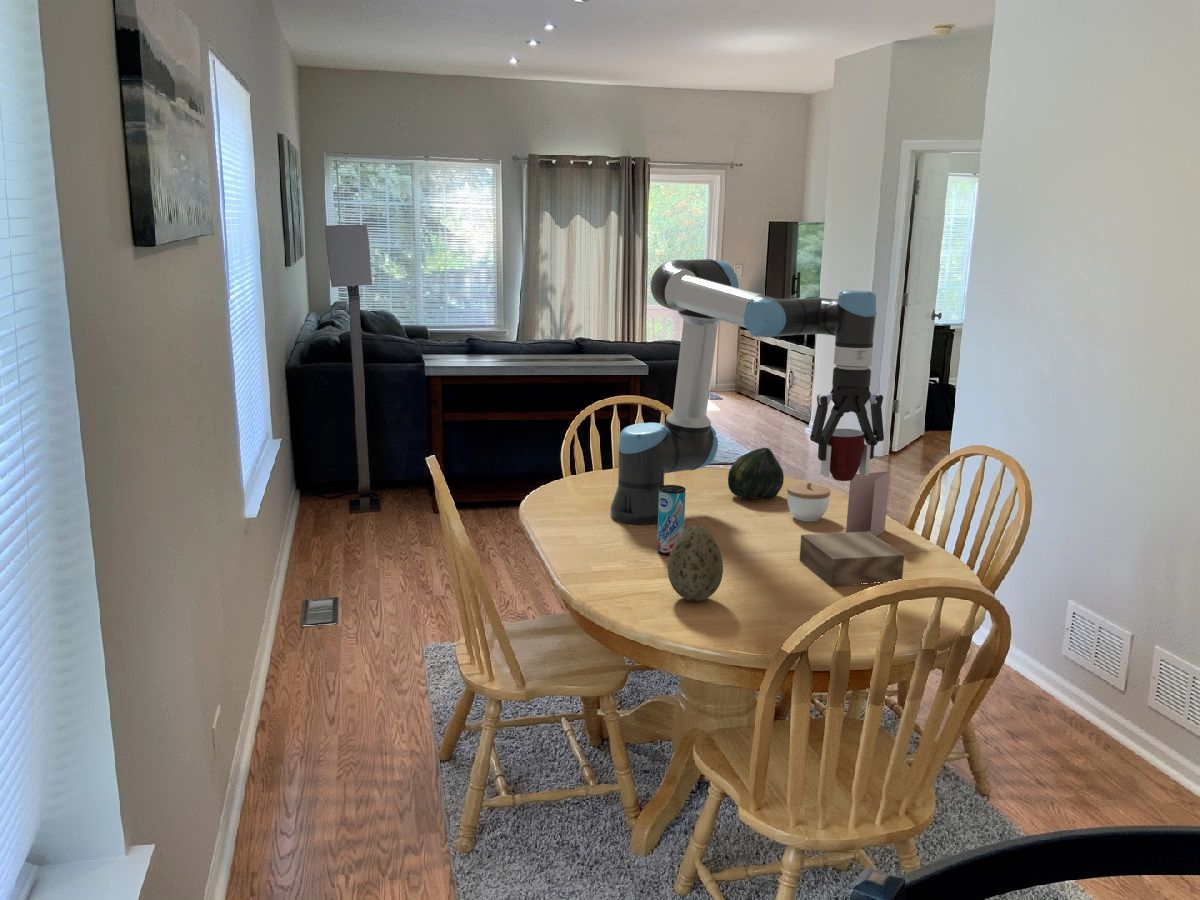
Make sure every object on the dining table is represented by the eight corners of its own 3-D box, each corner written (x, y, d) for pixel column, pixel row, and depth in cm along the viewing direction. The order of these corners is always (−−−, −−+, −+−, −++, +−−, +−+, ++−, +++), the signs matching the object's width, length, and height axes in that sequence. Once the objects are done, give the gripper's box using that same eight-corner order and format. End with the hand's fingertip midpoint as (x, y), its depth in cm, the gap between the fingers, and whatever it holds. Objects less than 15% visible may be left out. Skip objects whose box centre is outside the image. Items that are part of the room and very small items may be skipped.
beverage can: (651, 551, 211) (653, 487, 208) (668, 546, 215) (671, 483, 212) (671, 558, 207) (673, 493, 204) (688, 552, 211) (691, 488, 208)
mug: (865, 487, 190) (867, 439, 188) (825, 486, 191) (826, 439, 189) (861, 474, 200) (862, 428, 198) (822, 473, 201) (823, 428, 199)
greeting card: (882, 529, 231) (887, 470, 227) (901, 537, 224) (907, 477, 221) (843, 533, 227) (848, 473, 223) (862, 542, 220) (867, 481, 216)
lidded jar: (817, 527, 231) (820, 490, 229) (778, 518, 237) (780, 483, 235) (834, 517, 240) (837, 482, 237) (796, 509, 246) (798, 475, 244)
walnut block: (830, 586, 192) (833, 559, 190) (799, 560, 207) (801, 534, 206) (901, 582, 195) (904, 555, 193) (865, 556, 210) (867, 531, 209)
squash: (713, 471, 262) (736, 440, 251) (758, 469, 268) (782, 438, 257) (731, 514, 254) (756, 483, 243) (776, 510, 261) (802, 480, 250)
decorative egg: (701, 586, 191) (704, 515, 187) (732, 604, 182) (736, 530, 178) (656, 594, 186) (658, 522, 182) (686, 613, 177) (689, 538, 173)
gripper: (811, 370, 185) (804, 480, 190) (908, 368, 189) (899, 477, 194) (797, 365, 192) (790, 472, 197) (890, 364, 196) (881, 468, 201)
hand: (844, 474), depth 195 cm, fingers closed on mug, 8 cm apart
